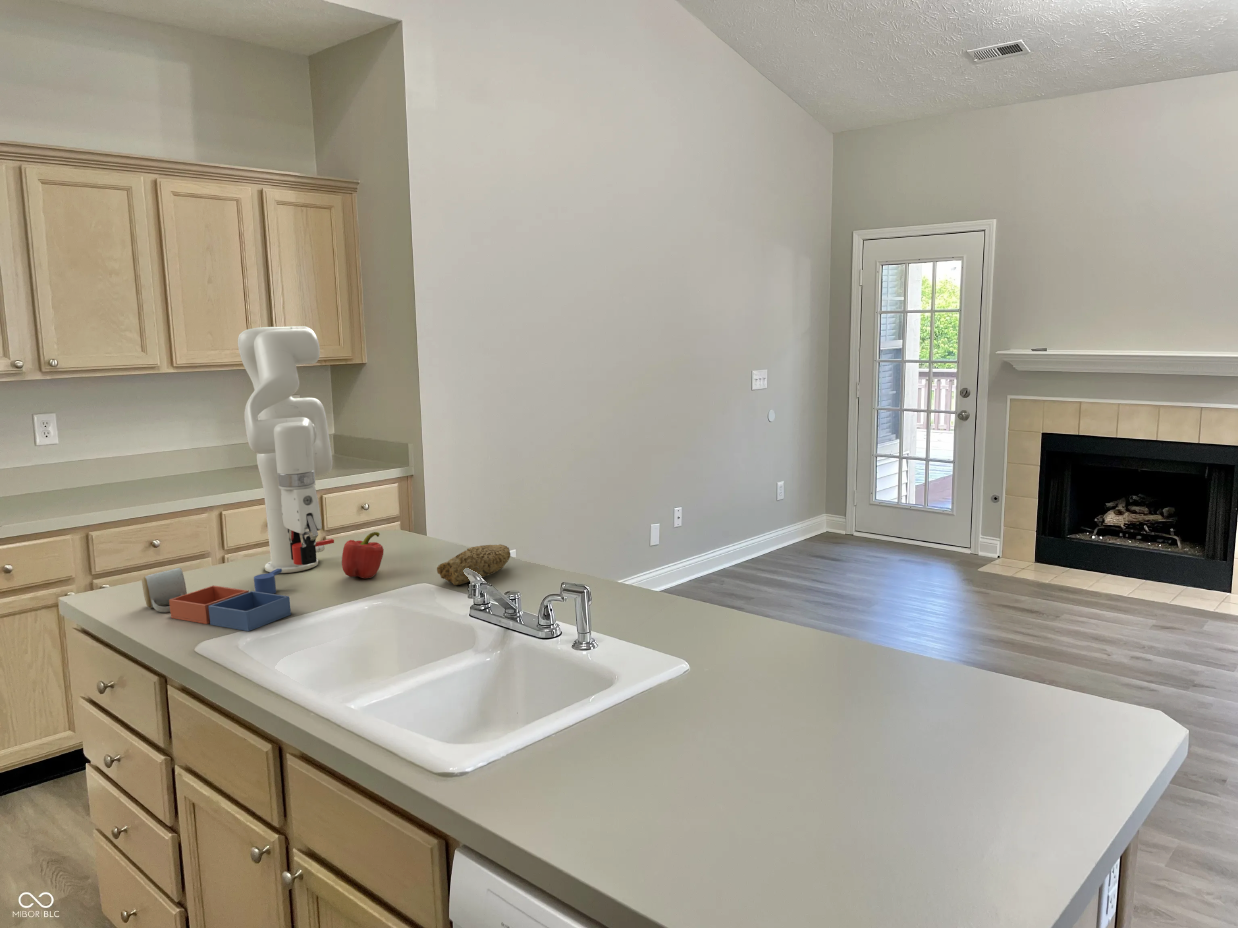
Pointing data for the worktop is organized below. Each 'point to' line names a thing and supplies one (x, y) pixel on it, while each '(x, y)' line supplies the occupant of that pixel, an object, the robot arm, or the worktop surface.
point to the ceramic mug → (163, 588)
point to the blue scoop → (266, 582)
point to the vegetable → (362, 557)
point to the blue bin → (249, 610)
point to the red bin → (201, 603)
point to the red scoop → (297, 546)
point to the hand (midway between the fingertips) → (304, 560)
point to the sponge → (474, 562)
